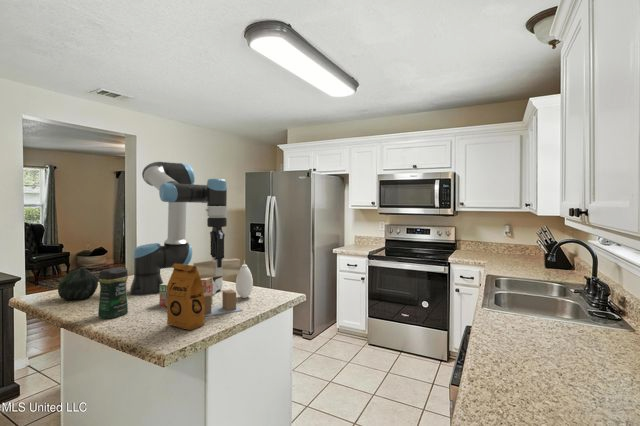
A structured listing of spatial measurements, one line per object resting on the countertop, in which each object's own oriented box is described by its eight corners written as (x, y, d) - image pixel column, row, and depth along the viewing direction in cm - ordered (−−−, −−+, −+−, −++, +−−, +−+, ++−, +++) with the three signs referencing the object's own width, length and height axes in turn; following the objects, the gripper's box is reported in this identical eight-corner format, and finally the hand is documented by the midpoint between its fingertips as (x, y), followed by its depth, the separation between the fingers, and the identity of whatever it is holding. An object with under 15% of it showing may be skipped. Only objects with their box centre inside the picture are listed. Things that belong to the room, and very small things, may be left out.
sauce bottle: (254, 298, 154) (254, 260, 153) (237, 300, 150) (237, 261, 150) (250, 294, 161) (250, 257, 160) (234, 296, 157) (234, 258, 157)
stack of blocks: (159, 306, 142) (158, 277, 142) (167, 302, 148) (167, 274, 148) (206, 308, 139) (206, 279, 139) (213, 304, 145) (213, 276, 145)
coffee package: (186, 333, 112) (186, 268, 111) (162, 326, 118) (162, 264, 117) (209, 324, 120) (209, 263, 120) (186, 318, 126) (186, 260, 126)
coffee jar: (110, 320, 124) (110, 270, 123) (94, 318, 126) (93, 269, 126) (132, 312, 133) (131, 266, 132) (116, 310, 135) (116, 265, 135)
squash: (58, 284, 156) (58, 263, 148) (96, 281, 165) (99, 261, 157) (57, 310, 148) (57, 289, 140) (97, 305, 157) (100, 286, 149)
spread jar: (217, 288, 173) (217, 266, 172) (228, 292, 165) (228, 269, 164) (194, 292, 164) (194, 269, 164) (205, 297, 156) (205, 272, 156)
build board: (191, 311, 135) (191, 293, 135) (235, 304, 145) (235, 287, 145) (196, 318, 127) (196, 299, 127) (242, 310, 136) (242, 292, 136)
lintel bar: (193, 277, 131) (193, 262, 131) (235, 272, 143) (235, 258, 142) (196, 279, 128) (196, 263, 128) (239, 273, 139) (239, 259, 139)
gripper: (202, 216, 140) (202, 271, 141) (212, 217, 125) (213, 279, 126) (220, 216, 144) (220, 269, 145) (232, 217, 129) (232, 277, 130)
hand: (217, 274), depth 135 cm, fingers closed on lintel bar, 4 cm apart
